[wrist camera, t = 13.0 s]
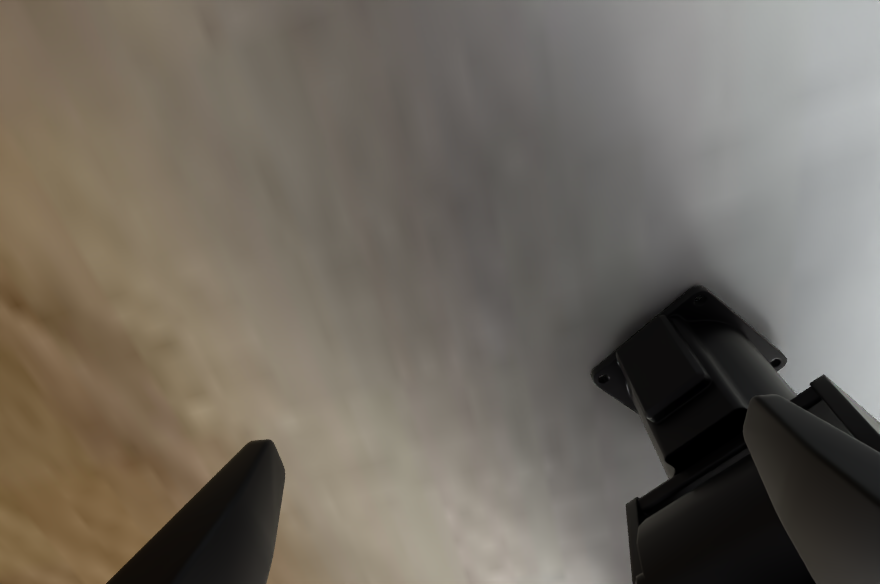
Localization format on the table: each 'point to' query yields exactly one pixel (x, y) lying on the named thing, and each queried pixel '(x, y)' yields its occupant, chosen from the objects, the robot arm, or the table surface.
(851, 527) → the robot arm
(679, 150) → the table surface
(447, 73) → the table surface
